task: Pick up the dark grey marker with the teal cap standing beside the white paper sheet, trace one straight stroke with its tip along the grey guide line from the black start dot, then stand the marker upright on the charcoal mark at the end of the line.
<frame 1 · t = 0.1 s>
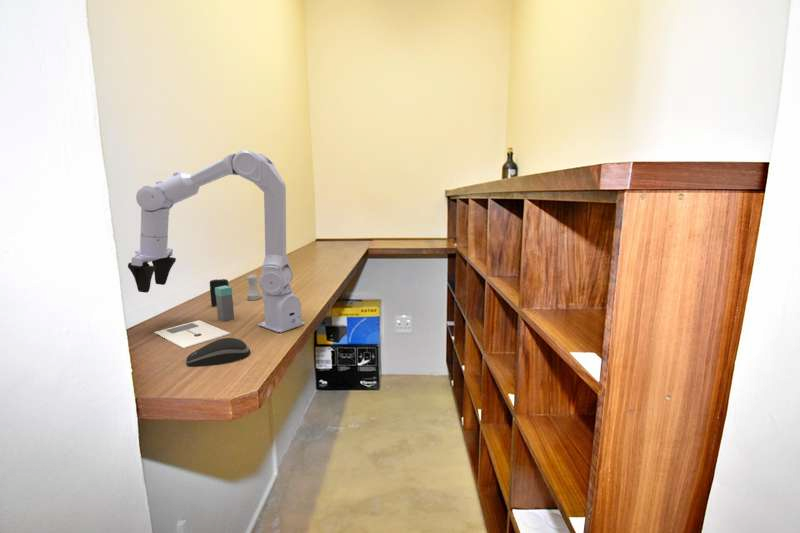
hand: (152, 287, 97), 11 cm above the counter, tool pointing down, fingers open, 7 cm apart
marker: (226, 318, 105), on the counter
paper sheet: (192, 333, 94), on the counter
computer mouse: (219, 360, 81), on the counter
ink cartridge: (221, 305, 118), on the counter
rook chess piece: (254, 299, 125), on the counter
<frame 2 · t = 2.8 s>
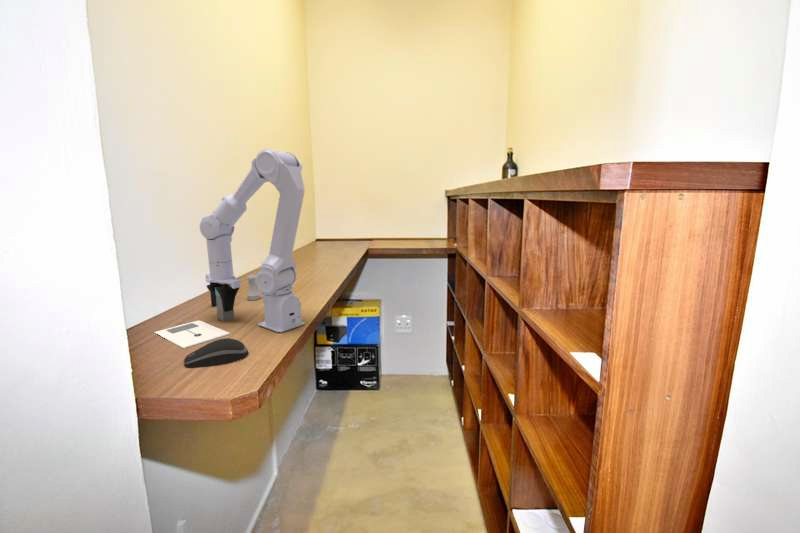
hand: (225, 309, 105), 3 cm above the counter, tool pointing down, fingers closed on marker, 3 cm apart
marker: (226, 318, 105), on the counter, touching gripper
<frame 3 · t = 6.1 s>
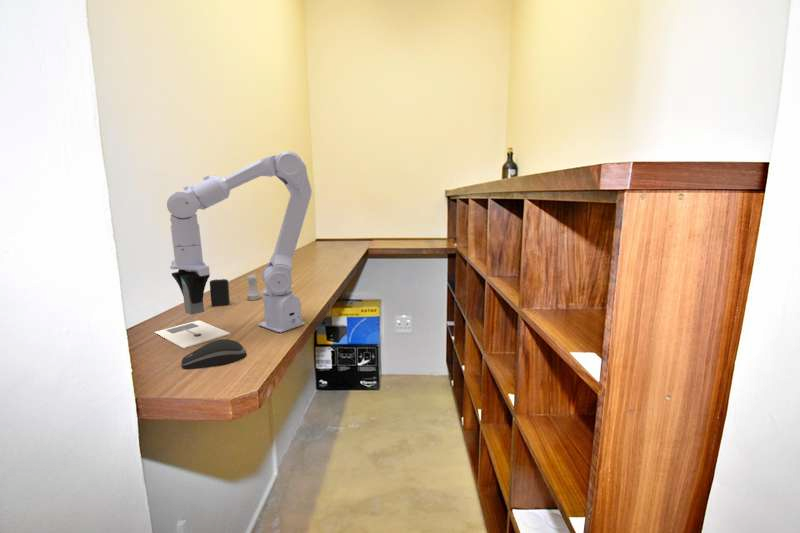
hand: (193, 301, 91), 9 cm above the counter, tool pointing down, fingers closed on marker, 3 cm apart
marker: (194, 312, 91), point 6 cm above the counter, touching gripper
when the fingers open (3 cm above the counter, at t = 9.6 s): marker stays where it is, resting on paper sheet.
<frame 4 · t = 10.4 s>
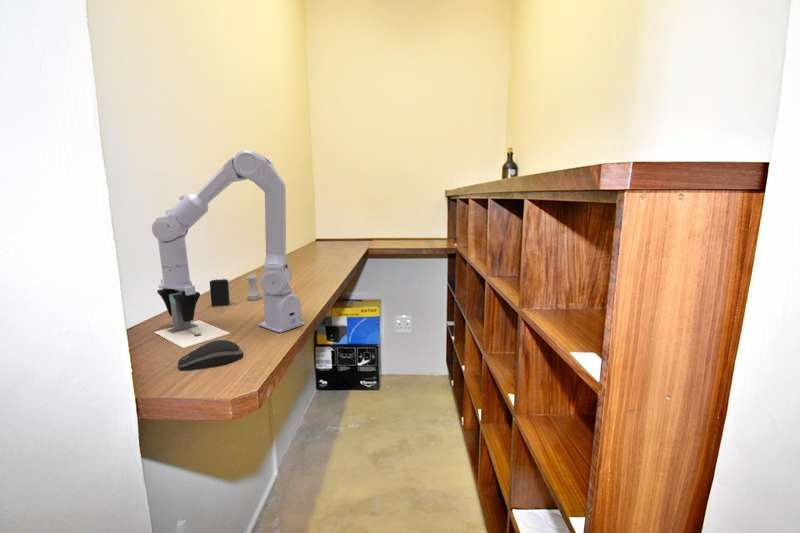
hand: (181, 317, 97), 3 cm above the counter, tool pointing down, fingers open, 7 cm apart
marker: (182, 328, 97), resting on paper sheet
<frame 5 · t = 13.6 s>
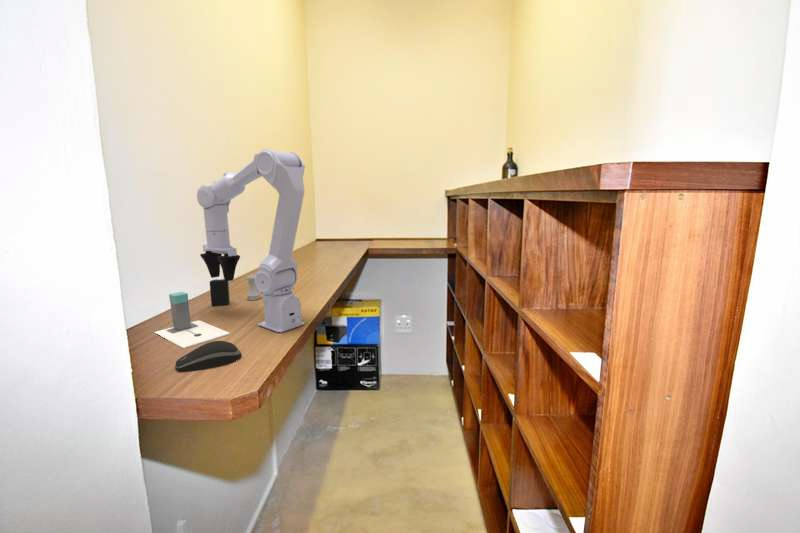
hand: (222, 278, 107), 10 cm above the counter, tool pointing down, fingers open, 7 cm apart
at the end: marker 0.0 cm from the target spot, on the counter; marker tilted 0°; the gripper is holding nothing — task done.
